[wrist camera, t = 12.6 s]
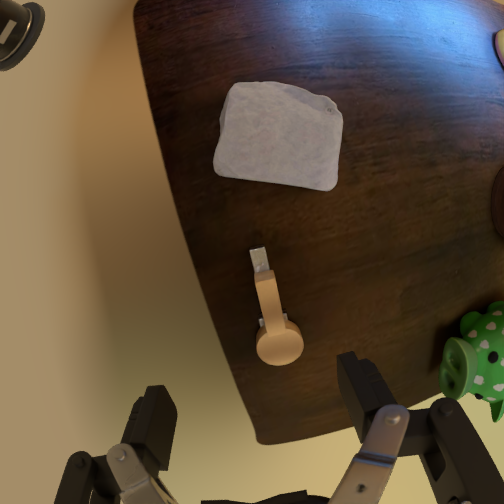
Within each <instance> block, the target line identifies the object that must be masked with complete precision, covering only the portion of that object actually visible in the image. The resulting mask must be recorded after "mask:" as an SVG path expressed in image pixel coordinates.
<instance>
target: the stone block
mask: <svg viewBox="0 0 504 504" xmlns="http://www.w3.org/2000/svg"><path fill="white" fill-rule="evenodd" d="M342 127H343V119H342V114H341V113H340V112H339V111H338V110H337V105H336V104H335V103H334V102H333V101H332V100H330V99H329V98H328V97H326V96H323V95H314V94H312V93H310V92H309V91H307V90H305V89H302V88H299V87H296V86H292V85H288V84H286V85H285V84H282V83H278V82H262V83H259V82H251V83H248V82H246V83H242V82H239V83H236V84H235V85H234V86H233V87H232V88H231V89H230V90H229V92H228V94H227V96H226V100H225V103H224V108H223V110H222V111H221V116H220V137H219V143H218V144H217V147H216V150H215V154H214V158H213V165H214V170H215V172H216V173H217V174H219V176H224V177H232V178H239V179H246V180H254V181H262V182H270V183H279V184H287V185H293V186H299V187H305V188H309V189H314V190H321V191H329V190H331V189H333V188H334V187H335V185H336V183H337V178H338V175H337V171H338V158H339V151H340V144H341V138H342Z"/></svg>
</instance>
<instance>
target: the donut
mask: <svg viewBox="0 0 504 504" xmlns="http://www.w3.org/2000/svg"><path fill="white" fill-rule="evenodd" d="M495 44H496V50H497V53H498V56H499V58H500V60H501V62H502V64H503V66H504V29H502V30H500V31H499V32H498V33H497V35H496V38H495Z"/></svg>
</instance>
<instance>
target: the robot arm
mask: <svg viewBox="0 0 504 504" xmlns="http://www.w3.org/2000/svg"><path fill="white" fill-rule="evenodd" d="M33 22H34V13H33V11H32V10H30V9H29V8H27V7H23V6H22V5H20V4H18V3H16V2H14V1H12V0H0V62H4V61H6V60H8V59H9V58H11V57H12V56H13V55H14V54H15V53H16V52H17V51H18V50H19V49H20V48H21V46H22V45H23V43H24V42H25V40H26V39H27V37H28V35H29V33H30V31H31V29H32V26H33ZM337 375H338V384H339V388H340V391H341V394H342V396H343V399H344V401H345V404H346V406H347V409H348V412H349V414H350V417H351V419H352V422H353V424H354V427H355V429H356V432H357V435H358V438H359V440H360V443H361V444H362V443H363V444H362V447H361V449H360V451H359V452H358V454H356V455H355V456H354V457H353V459H352V461H351V463H350V465H349V467H348V469H347V470H346V472H345V474H344V476H343V478H342V480H341V482H340V483H339V485H338V487H337V488H336V490H335V492H334V494H333V495H332V497H331V498H327V497H323V496H316V495H307V490H303V491H297V492H291V493H285V494H280V495H277V496H274V497H271V498H268V499H265V500H262V501H259V502H256V503H244V502H237V501H229V500H209V501H208V500H207V501H205V500H204V501H201V504H378V502H379V500H380V498H381V496H382V494H383V491H384V489H385V487H386V484H387V482H388V480H389V477H390V475H391V473H392V470H393V467H394V465H395V462H396V460H397V457H403V456H412V455H419V457H420V459H421V462H422V464H423V467H424V469H425V472H426V474H427V476H428V479H429V482H430V485H431V487H432V490H433V492H434V495H435V498H436V501H437V503H438V504H504V481H503V479H502V477H501V476H500V473H499V471H498V469H497V467H496V465H495V464H494V462H493V460H492V458H491V456H490V455H489V453H488V451H487V449H486V447H485V445H484V444H483V442H482V440H481V438H480V437H479V435H478V433H477V432H476V430H475V428H474V427H473V425H472V423H471V422H470V420H469V418H468V417H467V415H466V413H465V412H464V410H463V409H462V407H461V405H460V404H459V403H458V402H457V401H456V400H455V399H452V398H448V397H445V398H440V399H437V400H436V401H434V402H433V403H432V405H431V407H430V408H426V409H419V410H409V409H406V408H405V407H404V406H402V405H399V404H398V403H397V402H396V400H395V399H394V397H393V395H392V393H391V392H390V390H389V388H388V386H387V385H386V383H385V381H384V380H383V378H382V376H381V374H380V373H379V371H378V369H377V367H376V366H375V364H374V363H372V362H371V361H369V360H368V359H362V360H358V359H357V357H356V355H355V353H354V352H353V351H350V352H347V353H343V354H339V355H337ZM176 422H177V409H176V406H175V404H174V402H173V401H172V399H171V397H170V395H169V393H168V391H167V389H166V388H165V386H164V385H156V386H148V387H147V389H146V392H145V395H144V397H139V399H138V400H137V401H136V402H135V403H134V405H133V408H132V411H131V414H130V416H129V421H128V422H127V425H126V428H125V431H124V434H123V437H122V440H121V443H120V444H117V445H115V446H113V447H112V448H111V449H110V450H109V451H108V453H107V455H103V456H97V457H91V456H90V455H89V454H88V453H87V452H85V451H79V452H76V453H74V454H72V455H71V456H70V458H69V459H68V462H67V465H66V467H65V470H64V473H63V476H62V480H61V483H60V486H59V488H58V492H57V495H56V498H55V501H54V504H89V500H90V504H120V500H121V499H122V501H123V503H124V504H178V503H177V501H176V500H175V499H174V497H173V496H172V495H171V493H170V492H169V491H168V489H167V488H166V486H165V485H164V483H163V482H162V481H161V479H160V478H159V477H158V473H159V471H160V470H161V471H168V466H169V460H170V453H171V448H172V443H173V437H174V432H175V427H176ZM92 490H93V491H92ZM91 492H92V495H91ZM90 496H91V499H90Z"/></svg>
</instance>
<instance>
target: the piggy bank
mask: <svg viewBox="0 0 504 504" xmlns="http://www.w3.org/2000/svg"><path fill="white" fill-rule="evenodd" d="M460 332H461V334H462V336H463V338H462V339H461V338H458V337H451V338H449V339H448V340H447V342H446V344H445V346H444V349H443V361H442V362H441V364H440V368H439V377H438V378H439V386H440V389H441V391H442V393H443V394H444V395H445V396H446V397H448V398H452V399H455V400H456V401H457V400H458V399H460V398H461V397H463V396H464V395H465V394H466V393H468V392H470V393H471V394H473V395H475V397H476V398H477V399H482V400H485V401H487V402H489V403H490V407H491V414H492V419H493V422H497V421H498V420H500V418H501V417H502V416H503V413H504V301H496V302H493V303H492V304H490V305H489V306H488V308H487V311H486V314H484V315H482V314H480V313H478V312H476V311H474V312H469V313H467V314H466V315H465V316H463V318H462V319H461V322H460Z"/></svg>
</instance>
